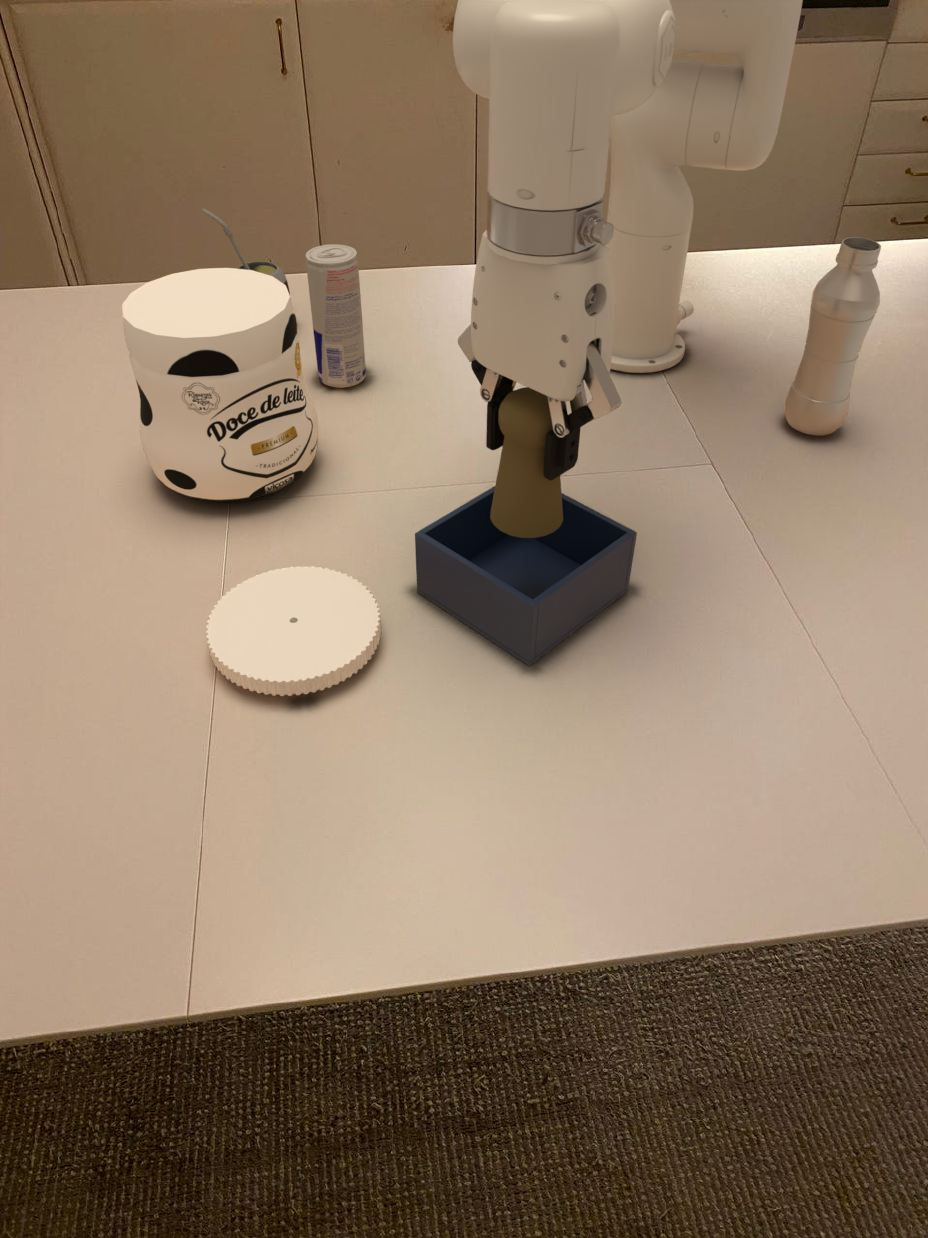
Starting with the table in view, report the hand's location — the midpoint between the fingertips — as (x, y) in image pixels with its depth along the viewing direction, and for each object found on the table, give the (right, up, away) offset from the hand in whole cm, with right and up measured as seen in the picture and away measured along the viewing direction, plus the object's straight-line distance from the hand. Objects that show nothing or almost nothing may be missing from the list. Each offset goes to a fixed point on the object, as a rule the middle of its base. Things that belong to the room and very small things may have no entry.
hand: (530, 455), depth 74 cm
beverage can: (-20, +15, +38) cm, 46 cm away
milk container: (-29, +3, +24) cm, 37 cm away
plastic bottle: (+33, +8, +30) cm, 45 cm away
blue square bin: (0, -10, +9) cm, 14 cm away
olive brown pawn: (0, -5, +4) cm, 6 cm away
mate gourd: (-31, +24, +47) cm, 62 cm away
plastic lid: (-19, -15, +5) cm, 25 cm away
